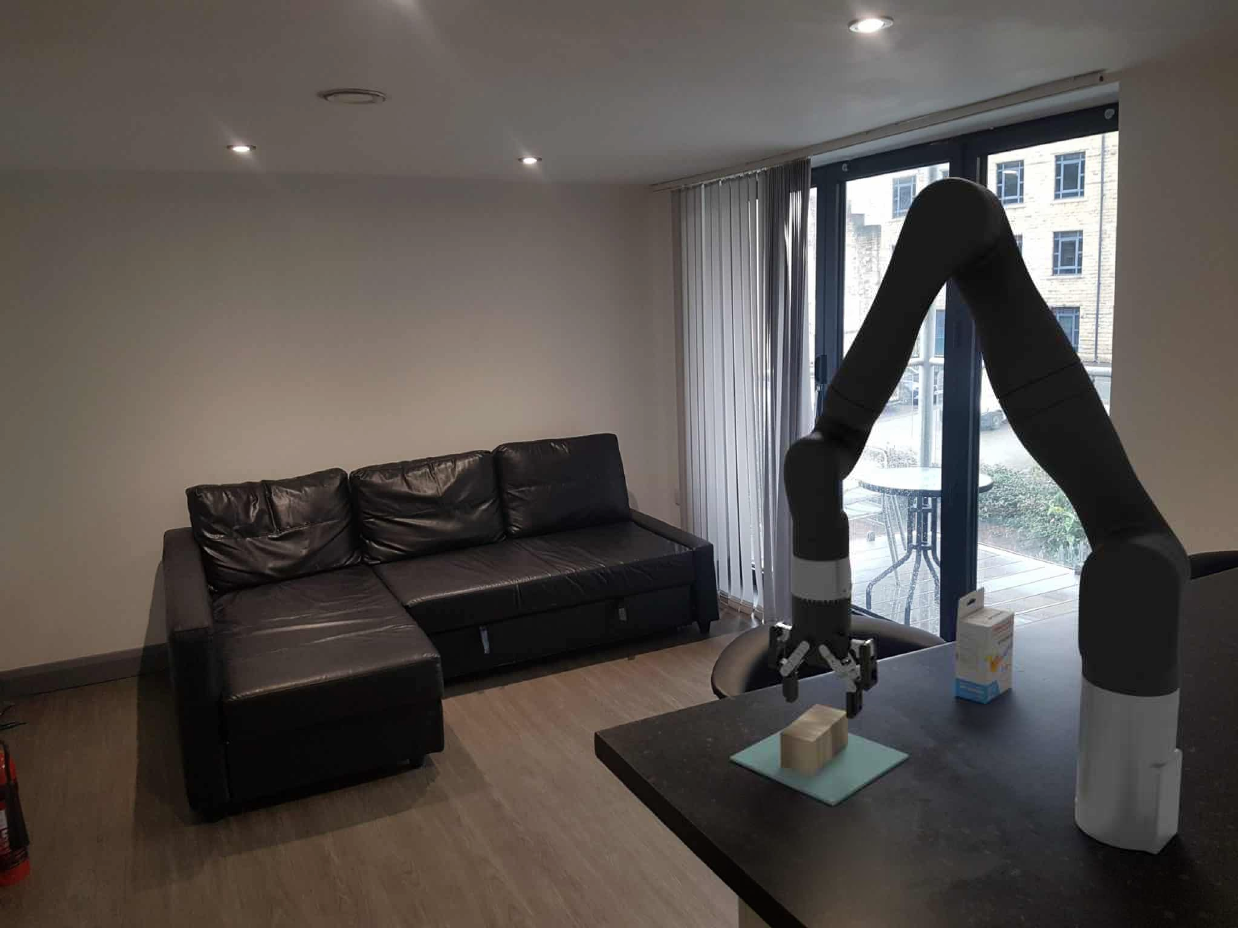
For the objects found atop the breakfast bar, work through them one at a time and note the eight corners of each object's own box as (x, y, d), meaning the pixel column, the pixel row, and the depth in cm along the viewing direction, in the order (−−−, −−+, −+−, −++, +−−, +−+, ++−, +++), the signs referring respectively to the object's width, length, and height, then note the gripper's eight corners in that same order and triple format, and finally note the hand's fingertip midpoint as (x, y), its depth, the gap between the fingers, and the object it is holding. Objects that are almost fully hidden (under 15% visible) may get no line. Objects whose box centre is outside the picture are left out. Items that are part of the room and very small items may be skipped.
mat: (908, 757, 121) (908, 754, 121) (833, 805, 111) (833, 802, 111) (806, 719, 133) (806, 716, 133) (730, 759, 123) (730, 756, 123)
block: (847, 711, 124) (812, 741, 116) (847, 743, 125) (813, 775, 117) (816, 703, 127) (780, 732, 119) (816, 735, 128) (780, 765, 120)
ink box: (987, 705, 135) (989, 606, 132) (953, 696, 139) (955, 599, 136) (1013, 686, 141) (1016, 591, 138) (980, 678, 144) (982, 585, 142)
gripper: (756, 587, 122) (758, 706, 125) (861, 606, 113) (861, 733, 116) (785, 572, 127) (786, 686, 130) (886, 589, 119) (886, 710, 122)
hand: (821, 708), depth 123 cm, fingers open, 8 cm apart
